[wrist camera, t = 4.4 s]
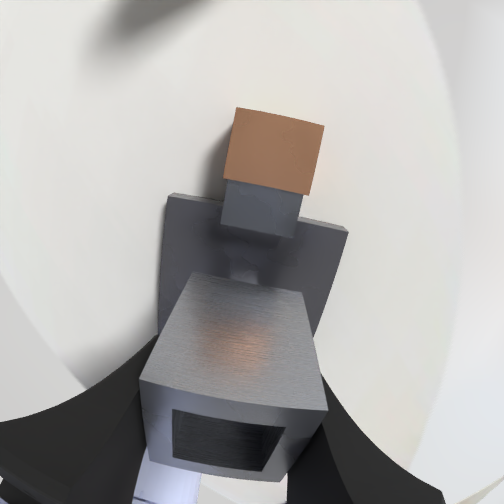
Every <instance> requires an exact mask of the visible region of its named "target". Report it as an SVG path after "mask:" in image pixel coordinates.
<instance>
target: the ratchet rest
mask: <svg viewBox="0 0 504 504" xmlns="http://www.w3.org/2000/svg"><path fill="white" fill-rule="evenodd" d="M323 131H324V126H323V125H319V124H315V123H311V122H307V121H303V120H299V119H295V118H290V117H286V116H281V115H276V114H271V113H266V112H261V111H256V110H250V109H244V108H238V107H236V112H235V117H234V122H233V127H232V132H231V137H230V142H229V147H228V153H227V158H226V163H225V169H224V174H223V178H225V179H228V182H227V188H226V193H225V199H224V201H218V200H213V199H207V198H202V197H196V196H190V195H184V194H178V193H172V194H171V195H169V196H168V199H167V207H166V216H165V225H164V235H163V247H162V259H161V273H160V290H159V313H158V334H159V335H160V334H161V332H162V330H163V328H164V326H165V324H166V322H167V320H168V318H169V316H170V314H171V312H172V311H173V309H174V307H175V305H176V303H177V301H178V299H179V297H180V295H181V293H182V291H183V289H184V287H185V286H186V284H187V282H188V280H189V278H190V276H191V274H192V272H197V273H202V274H207V275H212V276H217V277H222V278H227V279H232V280H237V281H242V282H247V283H253V284H258V285H263V286H269V287H274V288H280V289H285V290H291V291H296V292H302V295H303V299H304V303H305V307H306V311H307V315H308V320H309V324H310V328H311V333H312V337H314V334H315V332H316V329H317V327H318V324H319V321H320V318H321V316H322V313H323V310H324V307H325V304H326V302H327V299H328V296H329V293H330V290H331V287H332V284H333V281H334V278H335V275H336V272H337V269H338V266H339V262H340V259H341V256H342V253H343V249H344V246H345V243H346V239H347V236H348V233H349V232H348V231H347V230H346V229H345V228H344V227H343V226H339V225H334V224H330V223H326V222H321V221H317V220H312V219H308V218H303V217H298V216H299V211H300V207H301V203H302V199H303V194H304V195H308V196H309V193H310V189H311V185H312V180H313V176H314V172H315V167H316V163H317V158H318V154H319V149H320V145H321V140H322V135H323Z"/></svg>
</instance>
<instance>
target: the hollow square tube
mask: <svg viewBox="0 0 504 504" xmlns="http://www.w3.org/2000/svg"><path fill="white" fill-rule="evenodd" d="M139 387H140V397H141V406H142V415H143V422H144V430H145V437H146V443H147V449H148V455H149V461H152V462H156V463H159V464H163V465H167V466H171V467H175V468H179V469H184V470H188V471H193V472H198V473H204V474H209V475H215V476H222V477H229V478H236V479H245V480H255V481H267V482H280V481H281V480H282V479H283V477H284V476H285V475H286V473H287V472H288V471H289V469H290V468H291V467H292V465H293V464H294V462H295V461H296V460H297V458H298V457H299V455H300V454H301V452H302V451H303V450H304V448H305V447H306V445H307V444H308V442H309V441H310V439H311V438H312V436H313V434H314V433H315V431H316V430H317V428H318V427H319V425H320V423H321V422H322V420H323V419H324V417H325V415H326V414H327V412H328V406H327V401H326V397H325V392H324V387H323V382H322V377H321V373H320V368H319V364H318V359H317V355H316V350H315V346H314V341H313V337H312V333H311V328H310V324H309V320H308V315H307V311H306V307H305V303H304V299H303V295H302V292H296V291H291V290H285V289H280V288H274V287H269V286H263V285H258V284H253V283H247V282H242V281H237V280H232V279H227V278H222V277H217V276H212V275H207V274H202V273H197V272H192V274H191V276H190V278H189V280H188V282H187V284H186V286H185V287H184V289H183V291H182V293H181V295H180V297H179V299H178V301H177V303H176V305H175V307H174V309H173V311H172V312H171V314H170V316H169V318H168V320H167V322H166V324H165V326H164V328H163V330H162V332H161V334H160V336H159V338H158V340H157V342H156V344H155V346H154V348H153V350H152V352H151V355H150V357H149V359H148V361H147V363H146V365H145V367H144V369H143V371H142V373H141V375H140V377H139Z"/></svg>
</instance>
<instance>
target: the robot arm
mask: <svg viewBox="0 0 504 504" xmlns="http://www.w3.org/2000/svg"><path fill="white" fill-rule="evenodd" d="M159 336H160V335H159V334H158V335H156V336H154V337H153V338H152V339H151V340H150V341H149V342H148V343H147V344H146V345H145V346H144V347H143V348H142V349H141V350H140V351H138V352H137V353H136V354H135V355H134V356H133V357H132V358H130V359H129V360H128V361H127V362H126V363H124V364H123V365H122V366H121V367H119V368H118V369H117V370H116V371H114V372H113V373H111V374H110V375H109V376H107V377H106V378H105V379H103V380H102V381H100V382H99V383H97V384H96V385H94V386H93V387H91V388H89V389H88V390H86V391H84V392H83V393H81V394H79V395H77V396H75V397H73V398H71V399H70V400H67V401H65V402H63V403H61V404H59V405H57V406H55V407H52V408H49V409H46V410H44V411H41V412H38V413H36V414H33V415H29V416H26V417H23V418H18V419H13V420H9V421H4V422H0V476H1V477H2V478H3V480H2V482H1V484H0V504H197V498H198V493H199V486H200V481H201V475H202V473H198V472H193V471H188V470H184V469H179V468H175V467H171V466H167V465H163V464H159V463H156V462H152V461H149V455H148V449H147V443H146V437H145V430H144V422H143V415H142V406H141V397H140V387H139V377H140V375H141V373H142V371H143V369H144V367H145V365H146V363H147V361H148V359H149V357H150V355H151V352H152V350H153V348H154V346H155V344H156V342H157V340H158V338H159ZM321 377H322V382H323V387H324V392H325V397H326V401H327V406H328V412H327V414H326V415H325V417H324V419H323V420H322V422H321V423H320V425H319V427H318V428H317V430H316V431H315V433H314V434H313V436H312V438H311V439H310V441H309V442H308V444H307V445H306V447H305V448H304V450H303V451H302V452H301V454H300V455H299V457H298V458H297V460H296V461H295V462H294V464H293V465H292V467H291V468H290V469H289V471H288V472H287V475H288V483H287V504H446V503H445V500H444V497H443V494H442V492H441V491H440V490H438V489H436V488H435V487H433V486H431V485H429V484H427V483H425V482H423V481H421V480H420V479H418V478H416V477H415V476H413V475H412V474H410V473H409V472H407V471H406V470H404V469H403V468H402V467H400V466H399V465H398V464H396V463H395V462H394V461H393V460H392V459H390V458H389V457H388V456H387V455H386V454H384V453H383V452H382V451H381V450H380V449H379V448H378V447H377V446H376V445H375V444H374V443H373V442H372V441H371V440H370V439H369V438H368V437H367V436H366V435H365V434H364V433H363V432H362V431H361V429H360V428H359V427H358V426H357V425H356V423H355V422H354V421H353V420H352V418H351V417H350V416H349V415H348V413H347V412H346V410H345V409H344V408H343V406H342V405H341V403H340V402H339V400H338V399H337V398H336V396H335V395H334V393H333V392H332V390H331V388H330V387H329V385H328V384H327V382H326V381H325V379H324V377H323V376H322V374H321Z"/></svg>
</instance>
